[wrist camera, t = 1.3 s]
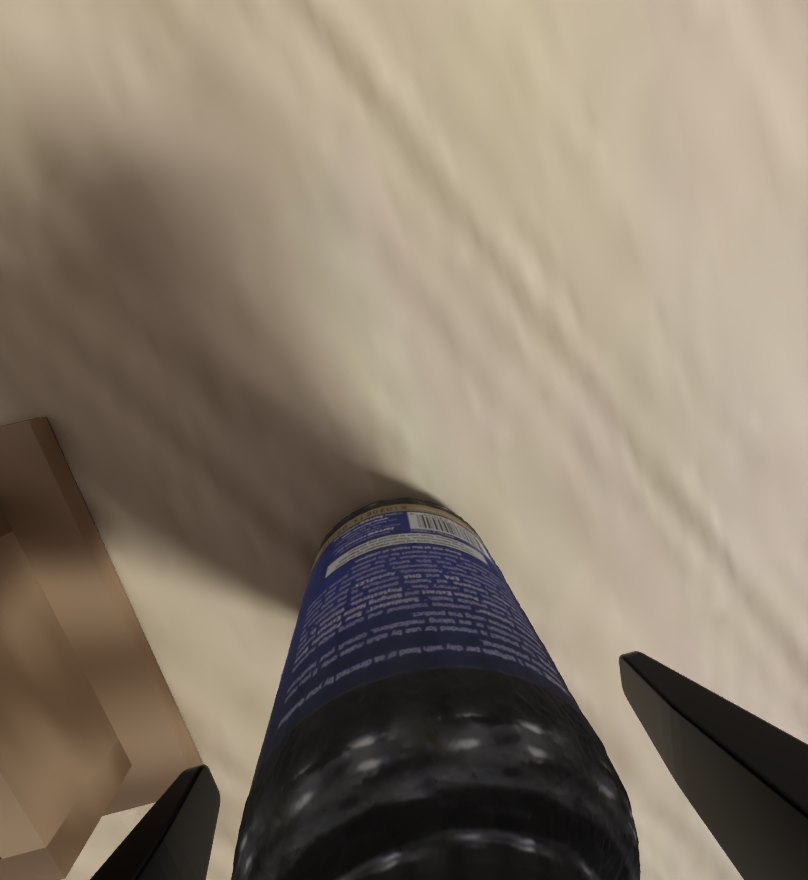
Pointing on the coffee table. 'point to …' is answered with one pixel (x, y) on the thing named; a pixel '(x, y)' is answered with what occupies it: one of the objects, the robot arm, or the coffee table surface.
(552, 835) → the pill bottle
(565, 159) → the coffee table surface
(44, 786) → the walnut holder
